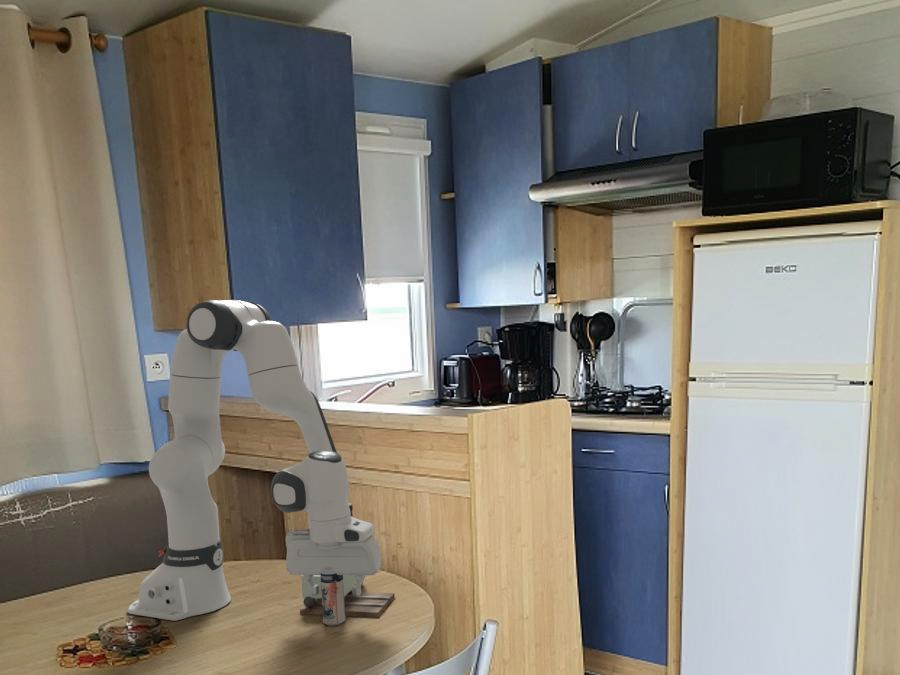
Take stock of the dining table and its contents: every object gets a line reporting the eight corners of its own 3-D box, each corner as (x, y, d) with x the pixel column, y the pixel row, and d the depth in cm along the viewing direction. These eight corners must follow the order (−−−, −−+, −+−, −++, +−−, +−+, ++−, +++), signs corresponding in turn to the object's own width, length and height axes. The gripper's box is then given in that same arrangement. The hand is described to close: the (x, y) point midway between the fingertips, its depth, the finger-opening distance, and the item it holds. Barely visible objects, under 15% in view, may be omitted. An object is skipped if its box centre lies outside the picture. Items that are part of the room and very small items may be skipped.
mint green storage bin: (302, 607, 161) (301, 576, 161) (320, 591, 170) (318, 561, 170) (342, 609, 159) (340, 577, 159) (358, 592, 168) (356, 562, 168)
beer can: (318, 623, 155) (314, 566, 155) (336, 615, 158) (333, 560, 158) (332, 628, 152) (328, 570, 151) (350, 621, 155) (347, 564, 155)
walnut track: (300, 613, 161) (299, 607, 161) (320, 594, 171) (320, 588, 171) (378, 617, 156) (377, 610, 156) (394, 597, 167) (394, 591, 167)
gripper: (278, 533, 154) (283, 599, 154) (371, 533, 149) (376, 601, 150) (291, 525, 160) (296, 588, 161) (380, 524, 156) (385, 589, 156)
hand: (335, 594), depth 155 cm, fingers open, 8 cm apart
